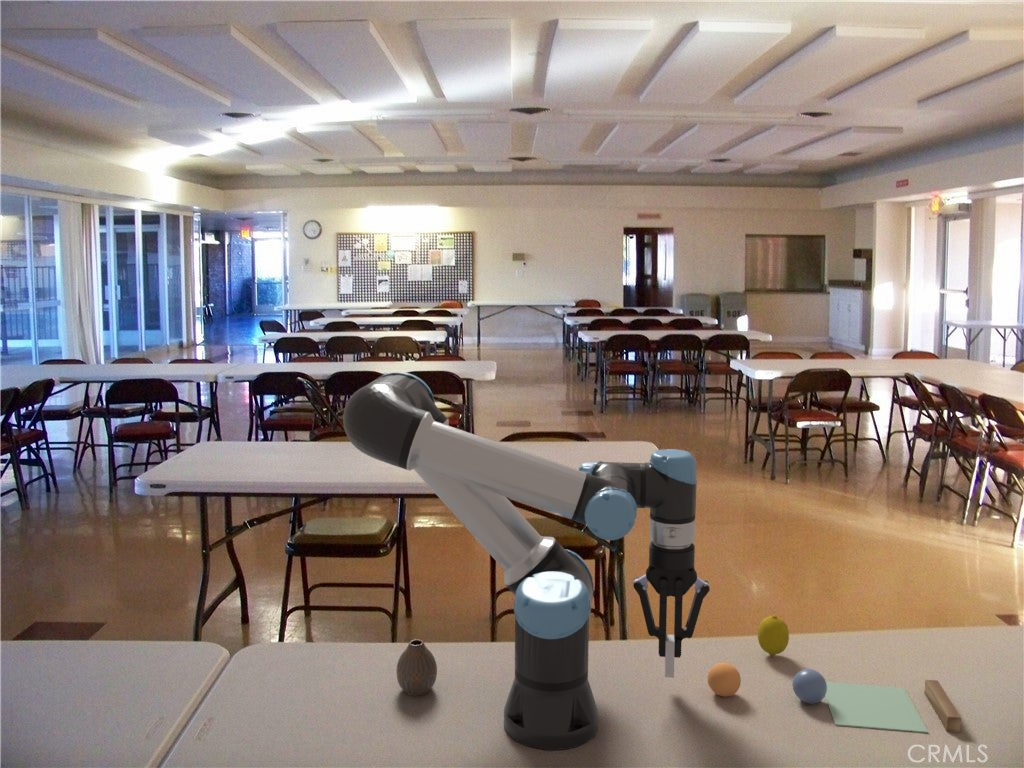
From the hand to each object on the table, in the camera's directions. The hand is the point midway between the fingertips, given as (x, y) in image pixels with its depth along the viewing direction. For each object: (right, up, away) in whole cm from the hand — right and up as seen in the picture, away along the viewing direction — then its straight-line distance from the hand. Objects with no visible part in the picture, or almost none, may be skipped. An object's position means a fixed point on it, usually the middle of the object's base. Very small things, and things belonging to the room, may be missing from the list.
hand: (669, 673), depth 153 cm
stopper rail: (+44, -4, -6) cm, 44 cm away
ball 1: (+9, -1, -1) cm, 9 cm away
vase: (-43, -3, 0) cm, 43 cm away
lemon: (+22, -1, +13) cm, 25 cm away
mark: (+33, -4, -5) cm, 33 cm away
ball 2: (+23, -1, -4) cm, 23 cm away
